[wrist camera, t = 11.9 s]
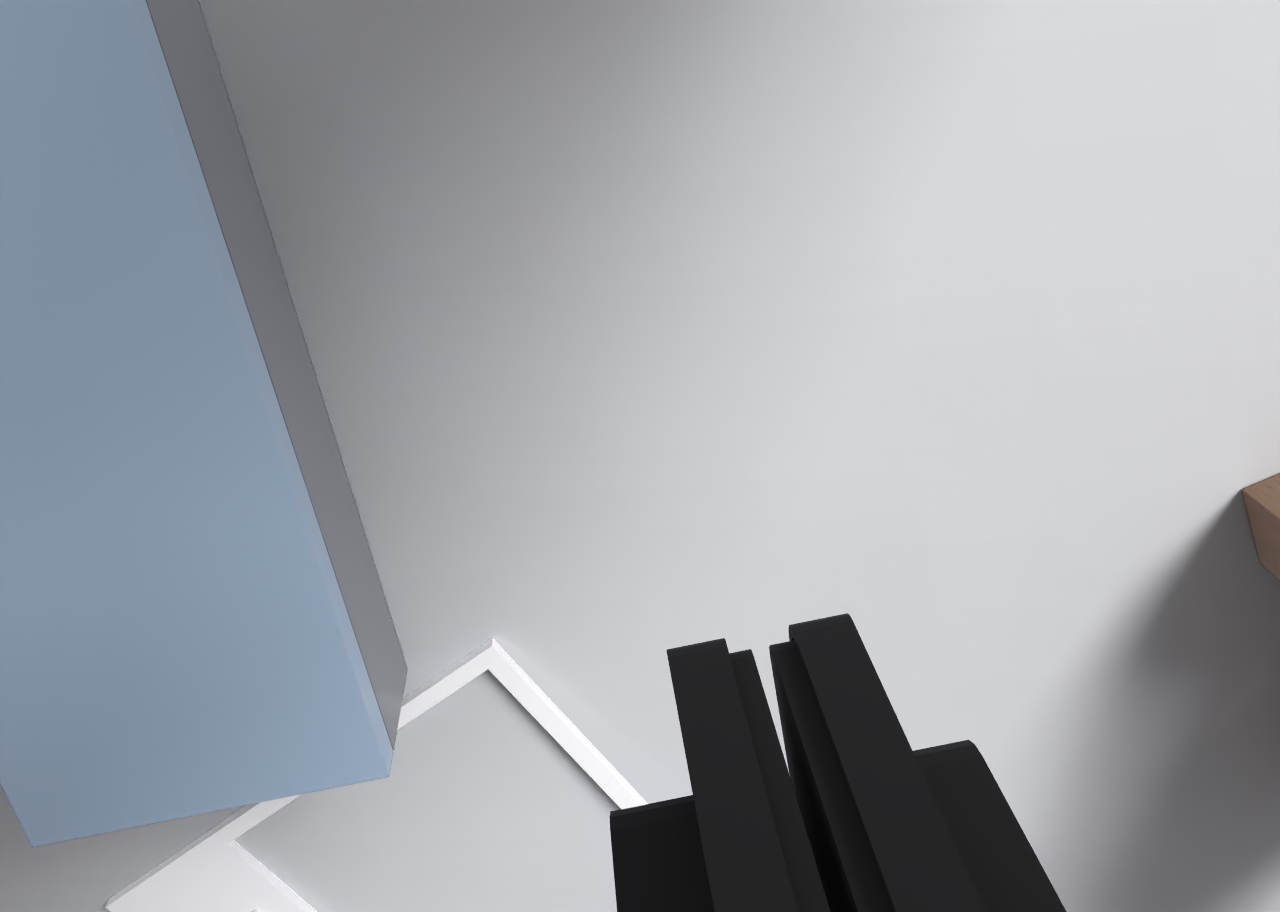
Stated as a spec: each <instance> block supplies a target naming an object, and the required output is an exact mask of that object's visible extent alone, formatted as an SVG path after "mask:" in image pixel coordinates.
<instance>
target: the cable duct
mask: <svg viewBox="0 0 1280 912" xmlns="http://www.w3.org/2000/svg"><path fill="white" fill-rule="evenodd" d="M146 3H147V6H148V9H149V12H150V15H151V19H152V22H153V25H154V28H155V31H156V34H157V37H158V40H159V43H160V46H161V49H162V52H163V55H164V58H165V61H166V64H167V67H168V70H169V73H170V76H171V79H172V82H173V85H174V88H175V91H176V94H177V97H178V100H179V103H180V106H181V109H182V113H183V116H184V119H185V122H186V125H187V128H188V131H189V134H190V137H191V140H192V143H193V146H194V149H195V152H196V155H197V158H198V161H199V164H200V167H201V170H202V173H203V176H204V179H205V182H206V185H207V188H208V191H209V194H210V197H211V200H212V203H213V206H214V210H215V213H216V216H217V219H218V222H219V225H220V228H221V231H222V234H223V237H224V240H225V243H226V246H227V249H228V252H229V255H230V258H231V261H232V264H233V267H234V270H235V273H236V276H237V279H238V282H239V285H240V288H241V291H242V294H243V297H244V300H245V304H246V307H247V310H248V313H249V316H250V319H251V322H252V325H253V328H254V331H255V334H256V337H257V340H258V343H259V346H260V349H261V352H262V355H263V358H264V361H265V364H266V367H267V370H268V373H269V376H270V379H271V382H272V385H273V388H274V391H275V394H276V397H277V401H278V404H279V407H280V410H281V413H282V416H283V419H284V422H285V425H286V428H287V431H288V434H289V437H290V440H291V443H292V446H293V449H294V452H295V455H296V458H297V461H298V464H299V467H300V470H301V473H302V476H303V479H304V482H305V485H306V488H307V491H308V495H309V498H310V501H311V504H312V507H313V510H314V513H315V516H316V519H317V522H318V525H319V528H320V531H321V534H322V537H323V540H324V543H325V546H326V549H327V552H328V555H329V558H330V561H331V564H332V567H333V570H334V573H335V576H336V579H337V582H338V585H339V588H340V592H341V595H342V598H343V601H344V604H345V607H346V610H347V613H348V616H349V619H350V622H351V625H352V628H353V631H354V634H355V637H356V640H357V643H358V646H359V649H360V652H361V655H362V658H363V661H364V664H365V667H366V670H367V673H368V676H369V679H370V682H371V686H372V689H373V692H374V695H375V698H376V701H377V704H378V707H379V710H380V713H381V716H382V719H383V722H384V725H385V728H386V731H387V734H388V737H389V740H390V743H391V746H392V749H393V750H394V746H395V740H396V734H397V728H398V722H399V717H400V711H401V705H402V699H403V693H404V687H405V681H406V675H407V666H406V663H405V660H404V656H403V653H402V650H401V647H400V644H399V640H398V637H397V634H396V631H395V628H394V624H393V621H392V618H391V615H390V612H389V608H388V605H387V602H386V599H385V596H384V593H383V589H382V586H381V583H380V580H379V577H378V573H377V570H376V567H375V564H374V561H373V557H372V554H371V551H370V548H369V545H368V541H367V538H366V535H365V532H364V529H363V525H362V522H361V519H360V516H359V513H358V509H357V506H356V503H355V500H354V497H353V493H352V490H351V487H350V484H349V481H348V477H347V474H346V471H345V468H344V465H343V461H342V458H341V455H340V452H339V449H338V446H337V442H336V439H335V436H334V433H333V430H332V426H331V423H330V420H329V417H328V414H327V410H326V407H325V404H324V401H323V398H322V394H321V391H320V388H319V385H318V382H317V378H316V375H315V372H314V369H313V366H312V362H311V359H310V356H309V353H308V350H307V346H306V343H305V340H304V337H303V334H302V330H301V327H300V324H299V321H298V318H297V314H296V311H295V308H294V305H293V302H292V299H291V295H290V292H289V289H288V286H287V283H286V279H285V276H284V273H283V270H282V267H281V263H280V260H279V257H278V254H277V251H276V247H275V244H274V241H273V238H272V235H271V231H270V228H269V225H268V222H267V219H266V215H265V212H264V209H263V206H262V203H261V199H260V196H259V193H258V190H257V187H256V183H255V180H254V177H253V174H252V171H251V168H250V164H249V161H248V158H247V155H246V152H245V148H244V145H243V142H242V139H241V136H240V132H239V129H238V126H237V123H236V120H235V116H234V113H233V110H232V107H231V104H230V100H229V97H228V94H227V91H226V88H225V84H224V81H223V78H222V75H221V72H220V68H219V65H218V62H217V59H216V56H215V52H214V49H213V46H212V43H211V40H210V36H209V33H208V30H207V27H206V24H205V21H204V17H203V14H202V11H201V8H200V5H199V1H198V0H146Z"/></svg>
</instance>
